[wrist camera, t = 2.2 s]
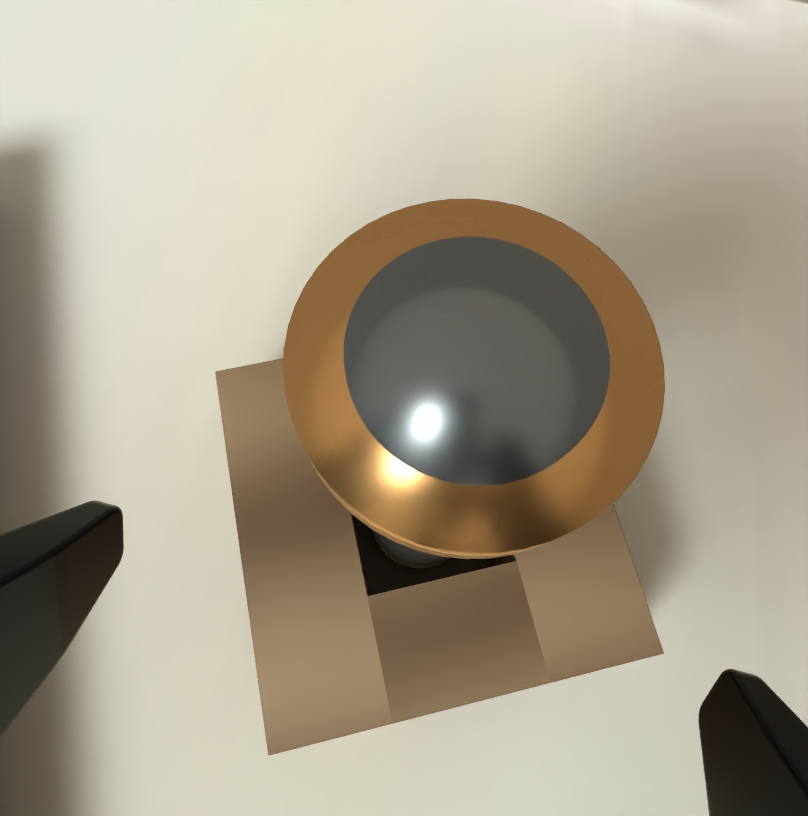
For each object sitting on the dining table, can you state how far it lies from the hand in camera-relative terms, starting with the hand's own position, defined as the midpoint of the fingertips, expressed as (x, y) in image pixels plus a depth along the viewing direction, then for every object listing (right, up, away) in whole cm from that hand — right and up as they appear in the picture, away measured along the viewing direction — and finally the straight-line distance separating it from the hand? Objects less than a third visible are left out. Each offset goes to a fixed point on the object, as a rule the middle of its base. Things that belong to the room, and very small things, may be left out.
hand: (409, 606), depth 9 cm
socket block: (0, -1, +10) cm, 10 cm away
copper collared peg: (0, -1, +10) cm, 10 cm away
